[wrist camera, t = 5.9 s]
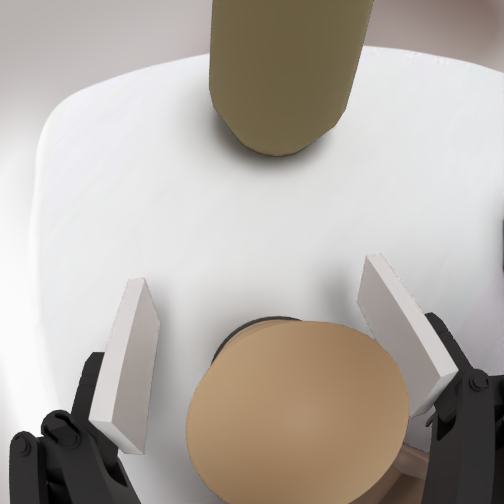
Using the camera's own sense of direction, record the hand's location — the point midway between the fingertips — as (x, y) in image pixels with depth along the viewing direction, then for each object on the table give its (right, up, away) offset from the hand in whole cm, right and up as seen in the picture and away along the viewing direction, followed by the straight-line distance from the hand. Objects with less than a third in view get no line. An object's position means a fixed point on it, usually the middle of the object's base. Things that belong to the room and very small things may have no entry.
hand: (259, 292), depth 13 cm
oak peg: (0, -4, +3) cm, 5 cm away
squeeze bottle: (+1, +11, +6) cm, 12 cm away
